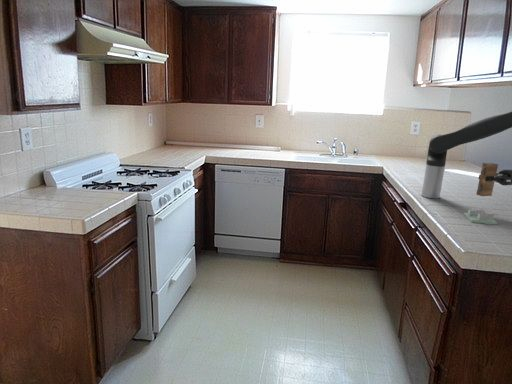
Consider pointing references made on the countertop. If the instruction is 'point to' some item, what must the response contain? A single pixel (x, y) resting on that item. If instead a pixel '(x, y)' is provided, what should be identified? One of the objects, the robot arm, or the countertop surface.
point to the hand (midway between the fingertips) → (482, 177)
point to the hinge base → (474, 219)
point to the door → (486, 186)
